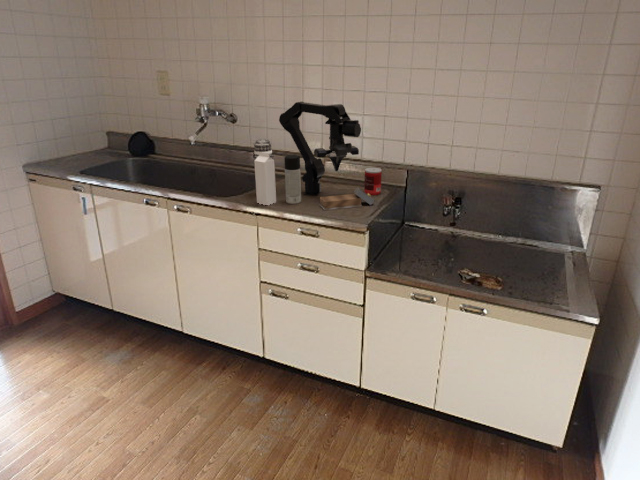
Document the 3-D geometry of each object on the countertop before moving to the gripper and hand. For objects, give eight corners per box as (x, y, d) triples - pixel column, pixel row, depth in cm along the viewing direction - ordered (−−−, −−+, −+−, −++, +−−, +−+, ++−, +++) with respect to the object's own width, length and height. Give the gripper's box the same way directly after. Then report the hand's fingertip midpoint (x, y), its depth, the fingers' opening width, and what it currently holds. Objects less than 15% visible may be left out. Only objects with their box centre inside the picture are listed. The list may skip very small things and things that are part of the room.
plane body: (324, 210, 191) (324, 202, 190) (319, 204, 198) (319, 197, 197) (361, 206, 196) (362, 198, 194) (355, 201, 202) (355, 193, 201)
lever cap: (356, 195, 194) (361, 188, 193) (353, 191, 198) (358, 185, 198) (370, 205, 197) (375, 199, 196) (367, 201, 201) (372, 196, 201)
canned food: (380, 190, 217) (381, 167, 212) (381, 195, 209) (382, 171, 205) (364, 190, 217) (364, 167, 213) (363, 195, 210) (364, 171, 206)
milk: (266, 200, 205) (263, 150, 197) (276, 202, 202) (274, 152, 193) (256, 203, 201) (253, 152, 192) (267, 206, 197) (264, 154, 189)
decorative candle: (251, 196, 211) (247, 140, 201) (262, 190, 218) (259, 137, 209) (268, 198, 207) (265, 142, 197) (279, 193, 214) (276, 138, 205)
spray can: (303, 200, 204) (302, 155, 197) (297, 204, 198) (296, 158, 191) (289, 198, 206) (287, 154, 199) (283, 203, 200) (281, 157, 193)
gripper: (321, 139, 187) (321, 177, 193) (364, 137, 192) (363, 173, 198) (313, 135, 197) (314, 171, 203) (354, 132, 202) (353, 167, 208)
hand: (336, 171), depth 203 cm, fingers closed
